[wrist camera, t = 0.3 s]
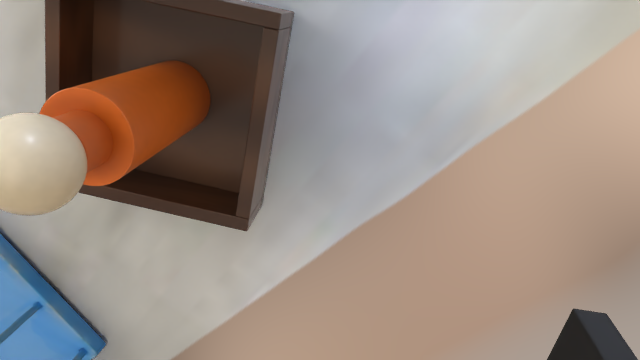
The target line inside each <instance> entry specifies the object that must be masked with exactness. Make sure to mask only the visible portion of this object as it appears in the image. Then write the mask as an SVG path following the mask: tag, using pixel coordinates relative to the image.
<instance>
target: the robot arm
mask: <svg viewBox="0 0 640 360" xmlns="http://www.w3.org/2000/svg"><path fill="white" fill-rule="evenodd" d="M547 360H638V359H637V358H636V356H635V355H634V353H633V352H632V350H631V349H630V347H629V346H628V345H627V343H626V342H625V340H624V339H623V338H622V336H621V334H620V333H619V331H618V330H617V328H616V327H615V326H614V324H613V323H612V321H611V320H610V318H609V317H608V315H607V314H605V313H598V312H592V311H584V310H579V309H573V310H572V312H571V314H570V316H569V318H568V320H567V322H566V323H565V325H564V327H563V329H562V331H561V333H560V335H559V337H558V339H557V341H556V343H555V345H554V347H553V349H552V351H551V353H550V355H549V357H548V359H547Z"/></svg>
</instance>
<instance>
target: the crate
mask: <svg viewBox="0 0 640 360" xmlns="http://www.w3.org/2000/svg"><path fill="white" fill-rule="evenodd" d="M293 17H294V12H293V11H288V10H283V9H279V8H274V7H269V6H265V5H260V4H255V3H250V2H246V1H241V0H45V57H46V101H47V100H48V99H49V98H50V97H51V96H52V95H53V94H55V93H56V92H58V91H61V90H63V89H67V88H70V87H74V86H78V85H81V84H85V83H88V82H92V81H96V80H99V79H103V78H106V77H110V76H114V75H117V74H121V73H124V72H128V71H132V70H135V69H139V68H142V67H146V66H150V65H153V64H157V63H160V62H164V61H170V60H175V61H180V62H184V63H186V64H188V65H190V66H192V67H193V68H195V69H196V70H197V71H198V72H199V73H200V74H201V75H202V77H203V78H204V80H205V81H206V83H207V85H208V88H209V92H210V108H209V111H208V114H207V116H206V117H205V119H204V120H203V121H202V122H201V123H200V124H199V125H198V126H196V127H195V128H193V129H192V130H190V131H189V132H188V133H186V134H185V135H183V136H182V137H180V138H179V139H177V140H176V141H174V142H173V143H171V144H170V145H168V146H167V147H166V148H164V149H163V150H161V151H160V152H158V153H157V154H155V155H154V156H152V157H151V158H149V159H148V160H146V161H145V162H144V163H142V164H141V165H139V166H138V167H136V168H135V169H133V170H132V171H130V172H129V173H127V174H126V175H124V176H123V177H122V178H120V179H119V180H117V181H115V182H113V183H111V184H108V185H103V186H89V185H84V184H83V185H82V187H81V189H80V190H79V193H83V194H88V195H92V196H96V197H100V198H105V199H109V200H113V201H118V202H122V203H126V204H131V205H135V206H139V207H144V208H148V209H152V210H157V211H161V212H165V213H170V214H174V215H178V216H183V217H187V218H191V219H196V220H200V221H204V222H209V223H213V224H217V225H222V226H226V227H230V228H235V229H239V230H243V231H247V230H248V229H249V227H250V225H251V223H252V222H253V220H254V218H255V216H256V215H257V213H258V211H259V209H260V208H261V206H262V202H263V196H264V190H265V184H266V178H267V172H268V166H269V160H270V154H271V149H272V143H273V137H274V131H275V125H276V119H277V113H278V107H279V101H280V95H281V89H282V83H283V77H284V71H285V65H286V59H287V53H288V47H289V41H290V35H291V29H292V23H293Z"/></svg>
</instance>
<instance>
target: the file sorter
mask: <svg viewBox="0 0 640 360" xmlns="http://www.w3.org/2000/svg"><path fill="white" fill-rule="evenodd" d="M105 345H106V344H105V342H104V341H103V340H102V338H101V337H100V336H99V335H98V334H97V333H96V332H95V331H94V330H93V329H92V328H91V327H90V326H89V325H88V324H87V323H86V322H85V321H84V320H83V319H82V318H81V317H80V316H79V315H78V314H77V313H76V312H75V311H74V310H73V309H72V308H71V306H70V305H69V304H68V303H67V302H66V301H65V300H64V299H63V298H62V297H61V296H60V295H59V294H58V293H57V292H56V291H55V290H54V289H53V288H52V287H51V286H50V285H49V284H48V283H47V282H46V281H45V280H44V279H43V278H42V277H41V275H40V274H39V273H38V272H37V271H36V270H35V269H34V268H33V267H32V266H31V265H30V264H29V263H28V262H27V261H26V260H25V259H24V258H23V257H22V256H21V255H20V254H19V253H18V252H17V251H16V250H15V249H14V248H13V247H12V245H11V244H10V243H9V242H8V241H7V240H6V239H5V238H4V237H3V236H2V235H1V234H0V360H91V359H92V358H94V357H96V356H97V355H98V354H99V352H100V351H101V350H102V349H103V348H104V347H105Z"/></svg>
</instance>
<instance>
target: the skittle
mask: <svg viewBox="0 0 640 360" xmlns="http://www.w3.org/2000/svg"><path fill="white" fill-rule="evenodd" d="M209 108H210V92H209V88H208V85H207V83H206V81H205V80H204V78H203V77H202V75H201V74H200V73H199V72H198V71H197V70H196V69H195V68H193V67H192V66H190V65H188V64H186V63H184V62H180V61H175V60H170V61H164V62H160V63H157V64H153V65H150V66H146V67H142V68H139V69H135V70H132V71H128V72H124V73H121V74H117V75H114V76H110V77H106V78H103V79H99V80H96V81H92V82H88V83H85V84H81V85H78V86H74V87H70V88H67V89H63V90H61V91H58V92H56V93H55V94H53V95H52V96H51V97H50V98H49V99H48V100H47V101H46V102H45V104H44V105H43V107H42V109H41V111H40V114H36V113H16V114H11V115H7V116H4V117H2V118H0V210H3V211H5V212H9V213H12V214H17V215H29V216H31V215H40V214H45V213H48V212H52V211H54V210H56V209H58V208H60V207H62V206H64V205H65V204H67V203H68V202H69V201H70V200H72V199H73V198H74V196H75V195H76V194H77V193H78V192H79V190H80V189H81V187H82V185H83V184H84V185H89V186H103V185H108V184H111V183H113V182H115V181H117V180H119V179H120V178H122V177H123V176H124V175H126V174H127V173H129V172H130V171H132V170H133V169H135V168H136V167H138V166H139V165H141V164H142V163H144V162H145V161H146V160H148V159H149V158H151V157H152V156H154V155H155V154H157V153H158V152H160V151H161V150H163V149H164V148H166V147H167V146H168V145H170V144H171V143H173V142H174V141H176V140H177V139H179V138H180V137H182V136H183V135H185V134H186V133H188V132H189V131H190V130H192V129H193V128H195V127H196V126H198V125H199V124H200V123H201V122H202V121H203V120H204V119H205V117H206V116H207V114H208V111H209Z"/></svg>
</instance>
